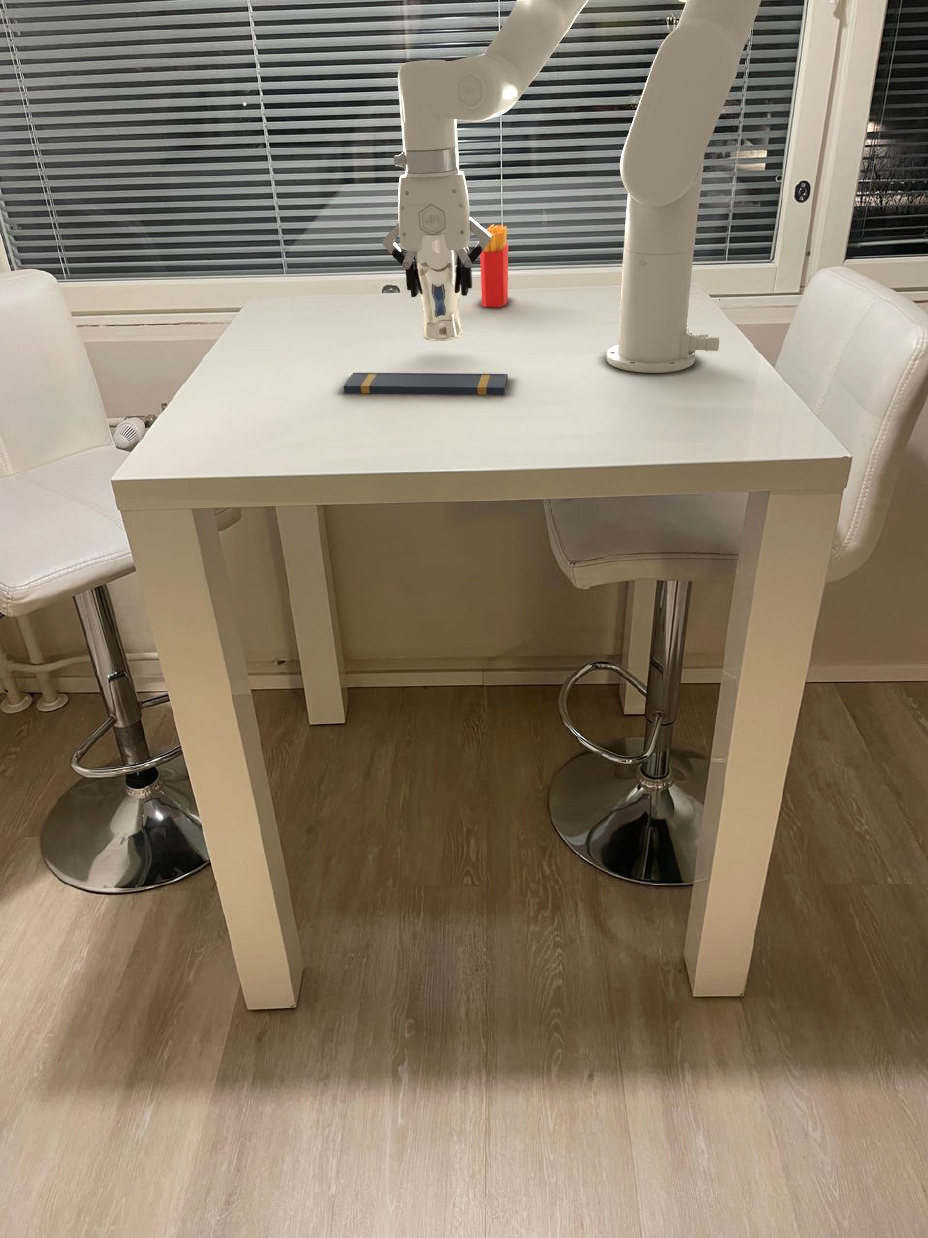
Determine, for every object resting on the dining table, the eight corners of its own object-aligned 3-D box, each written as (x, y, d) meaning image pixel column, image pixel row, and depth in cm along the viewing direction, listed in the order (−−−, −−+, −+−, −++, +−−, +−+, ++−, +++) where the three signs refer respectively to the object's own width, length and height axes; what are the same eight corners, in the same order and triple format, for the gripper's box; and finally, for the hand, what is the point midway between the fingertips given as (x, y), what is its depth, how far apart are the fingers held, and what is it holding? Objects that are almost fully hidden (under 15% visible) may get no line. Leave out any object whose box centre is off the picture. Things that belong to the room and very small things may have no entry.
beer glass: (460, 341, 141) (454, 234, 133) (415, 342, 142) (406, 236, 134) (469, 329, 146) (464, 226, 139) (426, 329, 148) (418, 227, 140)
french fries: (487, 296, 174) (486, 221, 168) (510, 297, 174) (510, 221, 167) (478, 309, 167) (476, 230, 160) (502, 309, 166) (501, 230, 159)
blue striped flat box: (507, 380, 132) (507, 372, 131) (504, 394, 127) (504, 386, 126) (353, 379, 134) (353, 371, 134) (344, 393, 129) (343, 385, 129)
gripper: (365, 168, 130) (378, 302, 139) (490, 162, 128) (495, 298, 137) (376, 162, 136) (387, 290, 145) (495, 156, 134) (500, 287, 143)
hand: (440, 293), depth 141 cm, fingers closed on beer glass, 6 cm apart
